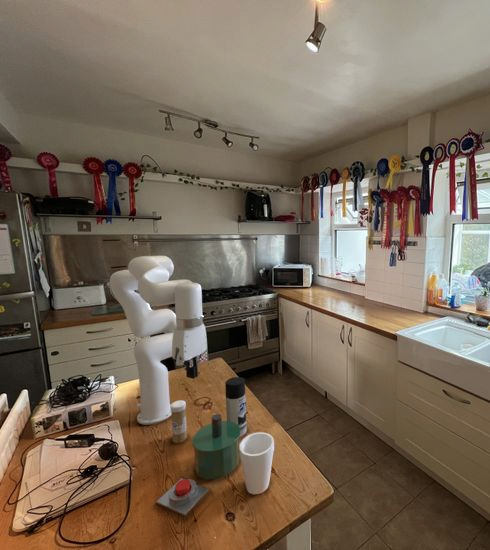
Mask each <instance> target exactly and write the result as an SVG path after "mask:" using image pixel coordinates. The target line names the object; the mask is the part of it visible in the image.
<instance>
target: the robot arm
mask: <svg viewBox="0 0 490 550" xmlns="http://www.w3.org/2000/svg"><path fill="white" fill-rule="evenodd" d="M174 268H175V265H174V263H173V260H172V259H171V258H170V257H168V256H167V255H144V256H143V255H142V256H137V257H134V258H132V259H131V260H130V261H129V263H128V265H127V269H122V270H118V271H115V272H113V273H112V274H111V276H110V278H109V286H110V290H111V293H112V295H113V296H114V298H115V300H116V301H117V302H118V303H119V304H120V306H121V307H122V309H123V312H124V315H125V317H126V320H127V323H128V326H129V329H130V331H131V333H132V335H133V336H134V337H136V338H143V339H141V340H139V341H138V342H136V343H135V344H134V347H133V355H134V358H135V362H136V366H137V371H138V372H137V373H138V383H139V384H138V385H139V397H140V401H139V403H137V404H136V408H139V410H140V412H139V413H138V414H137V416H136V421H137V423H138V424H140V425H145V426H146V425H147V426H151V425H153V424H157V423H160V422H163V421H165V420H167V419H169V418H170V417H172V412H171V404H172V403H171V400H170V384H169V371H168V367H166V365H164V363H162V362H161V361H163V360H166V359H169V358H172V359H173V360H175V365H176V366H178V367H179V366H184V367H185V373H186V374H185V375H186V378H188V379H193V380H194V379H196V378H198V377H199V366H198V365H199V364H200V360H201V358H202V357H203V356H204V355H205V354H206V351H207V349H208V339H207V331H206V326H205V323H204V320H203V319H204V318H205V316H204V314H203V293H202V286H201V284H199V283H198V282H193V281H191V280H190V279H175V280H174V279H173V280H169V279H170V277H171V276H172V275H173V273H174V270H175V269H174ZM136 291H138V292H136ZM172 304H173V305H174V308H175V312H174V311H173V310H172V309H170V308H161V309H160V308H159V309H152V308H151V306H153V307H161V306H168V305H172ZM145 337H146V338H145Z"/></svg>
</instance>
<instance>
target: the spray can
mask: <svg viewBox="0 0 490 550" xmlns="http://www.w3.org/2000/svg"><path fill="white" fill-rule="evenodd" d="M224 384H225V385H224V386H225V388H224V389H225V411H226V412H225V413H226V421H231V422H234V423H236V424H238V425H239V427H240V430H241V433H240V436H239V438H240V437H243V436H244V435H246V434H247V431H248V430H247V429H248V427H247V426H248V425H247V401H246V400H247V399H246V398H247V397H246V395H247V394H246V380H245V378H244V377H240V376H234V377H233V376H232V377H230V378H228V379H227V380H226V381H225V382H224Z"/></svg>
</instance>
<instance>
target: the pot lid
mask: <svg viewBox="0 0 490 550" xmlns="http://www.w3.org/2000/svg"><path fill="white" fill-rule="evenodd" d="M210 418H211V423H208V424H206V425H203V427H201V428H200V429H199V430H197V431H196V433H194V435H193V437H192V439H191V440H192V441H191V443H192V447H193V448H195V449H196V450H198V451H200V452H206V453H210V452H217V451H221V450H223V449H226V448H228V447H229V446H231V445H232V444H234V443H235V442H236V441H237V440H238V438H239V439H240V437H241V436H240V433H241V430H240V427H239V425H238V424H236V423H234V422H231V421H227V420H222V414H221V413H214V414H213V415H212V416H211V417H210ZM239 436H240V437H239Z"/></svg>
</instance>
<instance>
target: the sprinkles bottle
mask: <svg viewBox="0 0 490 550" xmlns="http://www.w3.org/2000/svg"><path fill="white" fill-rule="evenodd" d="M170 404H171V412H172V415H171V433H172V442H173V443H174V444H175V443H176V444H177V443H181V442H184V441H185V440H186V439H187V438H188V435H187V415H186V409H187V404H186V401H185V400H176V401H174V402H172V403H170Z"/></svg>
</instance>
